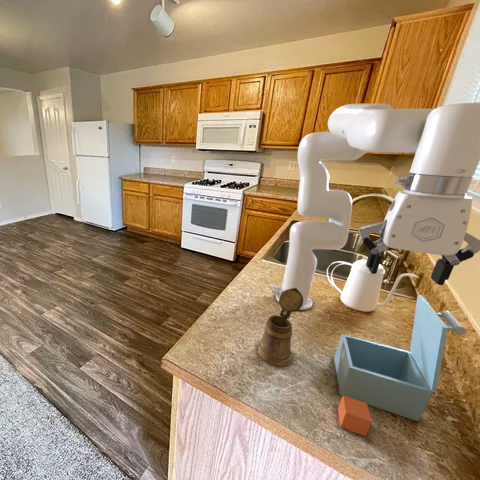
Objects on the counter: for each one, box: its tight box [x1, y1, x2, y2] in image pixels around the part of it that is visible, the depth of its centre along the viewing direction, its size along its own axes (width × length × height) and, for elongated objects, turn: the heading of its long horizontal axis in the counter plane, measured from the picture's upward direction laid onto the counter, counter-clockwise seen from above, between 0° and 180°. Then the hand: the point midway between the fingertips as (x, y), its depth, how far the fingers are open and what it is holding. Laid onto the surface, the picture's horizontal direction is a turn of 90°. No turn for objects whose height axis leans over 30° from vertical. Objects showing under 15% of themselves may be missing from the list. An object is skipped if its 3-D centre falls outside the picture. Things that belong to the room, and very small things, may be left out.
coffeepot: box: [326, 259, 420, 313], centre depth 96 cm, size 11×25×19 cm, turn 44°
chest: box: [333, 333, 434, 422], centre depth 65 cm, size 15×13×9 cm
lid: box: [409, 294, 467, 392], centre depth 57 cm, size 15×13×5 cm
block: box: [337, 395, 373, 438], centre depth 57 cm, size 4×4×4 cm
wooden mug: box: [257, 288, 303, 367], centre depth 74 cm, size 9×14×18 cm, turn 136°
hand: (402, 276), depth 50 cm, fingers open, 9 cm apart
